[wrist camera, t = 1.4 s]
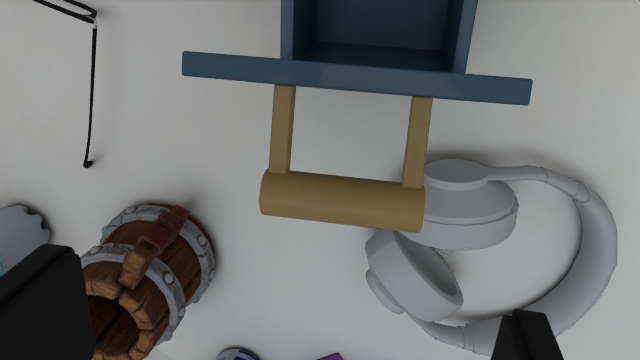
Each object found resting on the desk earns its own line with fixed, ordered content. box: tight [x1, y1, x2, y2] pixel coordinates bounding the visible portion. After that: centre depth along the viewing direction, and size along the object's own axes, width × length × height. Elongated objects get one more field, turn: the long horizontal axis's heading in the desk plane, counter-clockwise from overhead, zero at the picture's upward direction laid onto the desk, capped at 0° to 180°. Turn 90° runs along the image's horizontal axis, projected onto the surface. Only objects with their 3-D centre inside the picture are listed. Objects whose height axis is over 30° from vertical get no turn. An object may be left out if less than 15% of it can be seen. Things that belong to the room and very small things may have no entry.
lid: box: [182, 51, 533, 233], centre depth 23 cm, size 14×11×6 cm
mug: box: [80, 203, 215, 360], centre depth 44 cm, size 12×14×15 cm
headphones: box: [365, 159, 617, 356], centre depth 41 cm, size 18×8×20 cm
